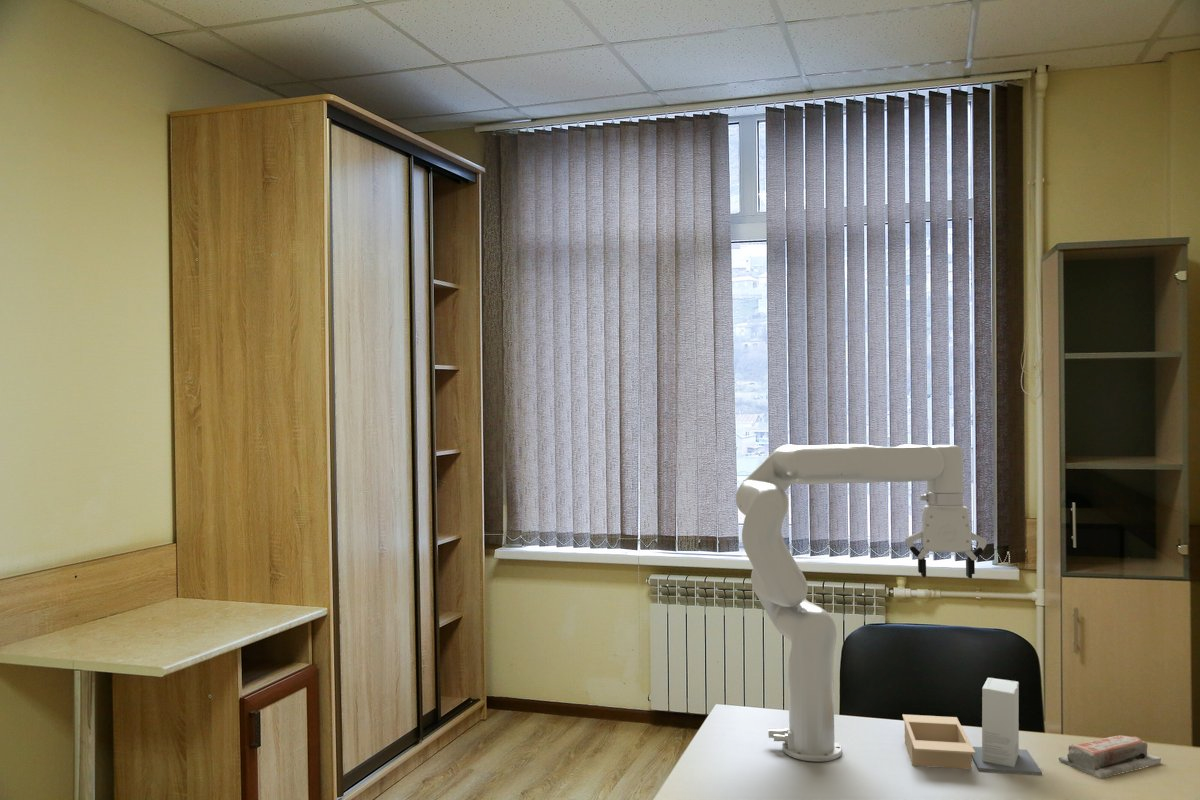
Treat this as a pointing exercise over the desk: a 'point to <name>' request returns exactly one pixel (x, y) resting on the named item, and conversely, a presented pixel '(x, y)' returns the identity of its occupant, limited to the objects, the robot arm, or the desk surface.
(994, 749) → the skincare box
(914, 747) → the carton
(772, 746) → the desk surface
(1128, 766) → the packaged product
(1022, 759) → the mat
